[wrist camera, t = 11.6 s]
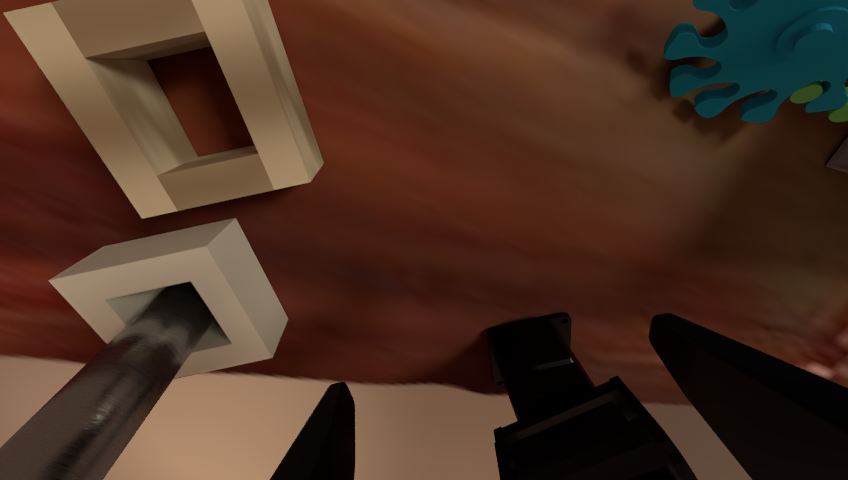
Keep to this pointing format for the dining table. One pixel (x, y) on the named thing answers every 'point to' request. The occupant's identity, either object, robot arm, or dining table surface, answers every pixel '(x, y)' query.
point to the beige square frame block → (150, 109)
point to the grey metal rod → (109, 394)
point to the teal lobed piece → (767, 57)
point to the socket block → (173, 264)
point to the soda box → (840, 158)
